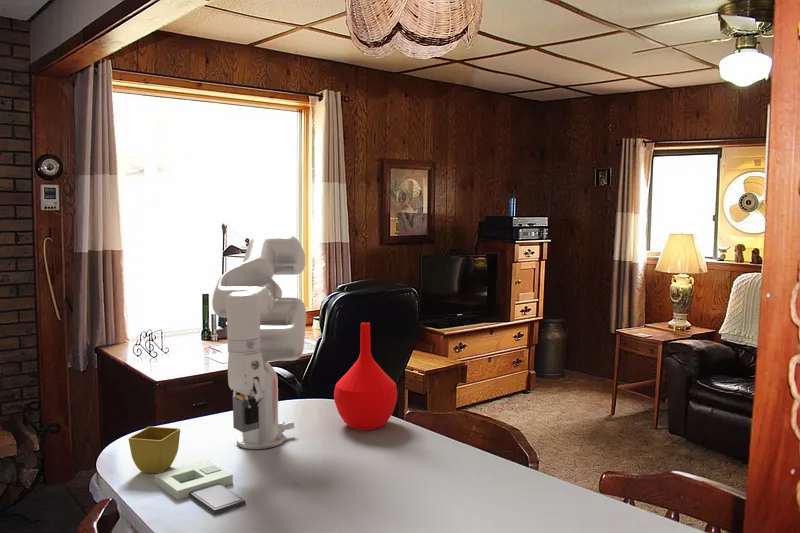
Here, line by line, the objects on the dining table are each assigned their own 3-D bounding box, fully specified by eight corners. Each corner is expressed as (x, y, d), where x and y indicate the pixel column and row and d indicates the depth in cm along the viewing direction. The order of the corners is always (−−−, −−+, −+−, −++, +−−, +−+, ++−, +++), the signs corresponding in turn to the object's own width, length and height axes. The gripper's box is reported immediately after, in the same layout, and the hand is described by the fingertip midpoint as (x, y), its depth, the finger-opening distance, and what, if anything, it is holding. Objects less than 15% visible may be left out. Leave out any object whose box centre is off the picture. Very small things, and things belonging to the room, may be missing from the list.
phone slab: (218, 487, 148) (218, 482, 148) (245, 504, 139) (245, 499, 139) (188, 496, 143) (188, 491, 143) (214, 515, 135) (214, 509, 134)
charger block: (250, 423, 160) (249, 391, 159) (259, 428, 157) (258, 395, 156) (233, 427, 157) (232, 395, 156) (242, 432, 154) (241, 399, 153)
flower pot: (162, 478, 154) (161, 440, 153) (128, 475, 155) (127, 437, 155) (182, 464, 162) (181, 428, 161) (150, 461, 164) (148, 426, 163)
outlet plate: (208, 468, 159) (208, 459, 159) (232, 483, 150) (232, 473, 150) (155, 483, 151) (154, 473, 150) (177, 499, 142) (177, 489, 142)
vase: (334, 416, 200) (332, 318, 198) (394, 414, 202) (393, 317, 200) (334, 436, 182) (333, 329, 180) (400, 434, 184) (400, 327, 182)
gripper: (277, 348, 151) (279, 426, 153) (240, 336, 163) (242, 408, 165) (248, 354, 146) (250, 434, 148) (212, 341, 158) (215, 415, 160)
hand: (246, 419), depth 157 cm, fingers closed on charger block, 4 cm apart
